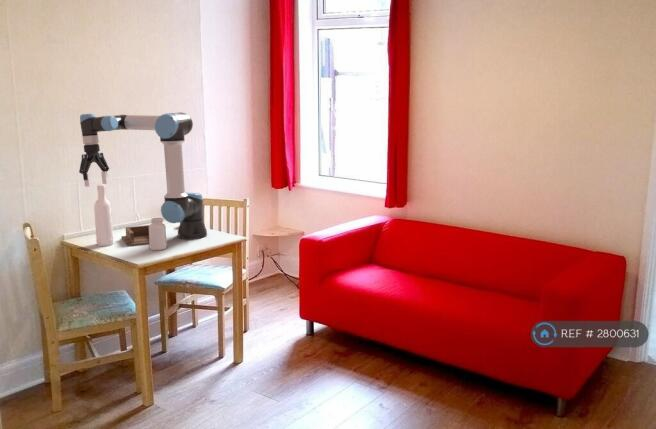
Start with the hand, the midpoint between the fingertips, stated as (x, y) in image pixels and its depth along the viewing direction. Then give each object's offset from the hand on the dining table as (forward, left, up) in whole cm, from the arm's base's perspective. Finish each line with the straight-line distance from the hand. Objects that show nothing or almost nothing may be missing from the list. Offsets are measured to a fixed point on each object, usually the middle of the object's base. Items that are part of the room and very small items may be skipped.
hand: (96, 185), depth 316 cm
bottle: (-15, +16, -27) cm, 34 cm away
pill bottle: (-44, +14, -27) cm, 53 cm away
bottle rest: (-28, +3, -27) cm, 39 cm away
